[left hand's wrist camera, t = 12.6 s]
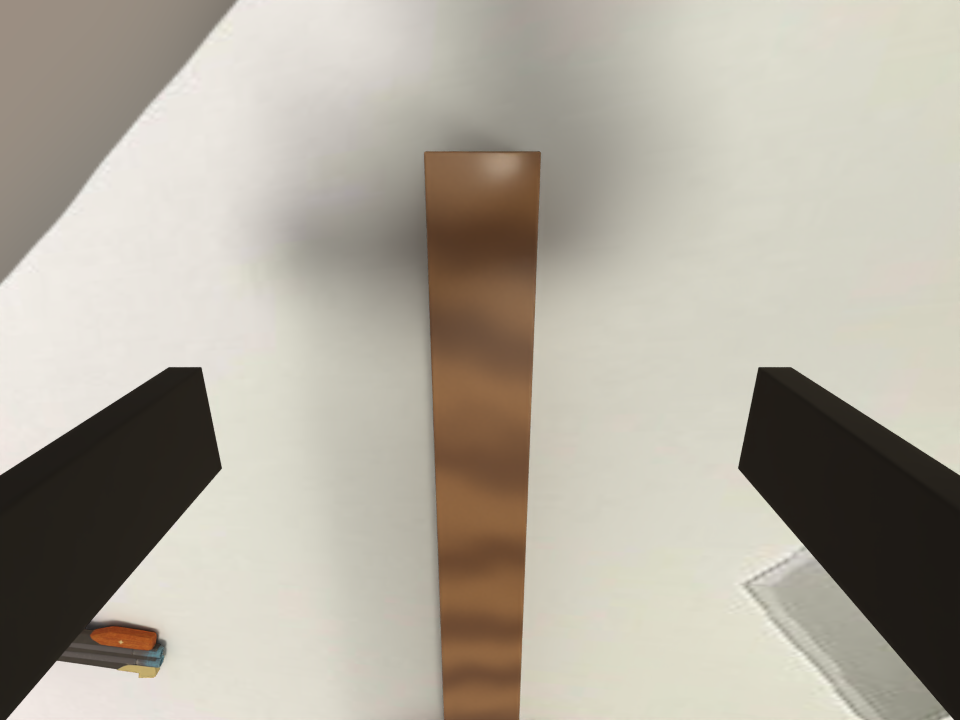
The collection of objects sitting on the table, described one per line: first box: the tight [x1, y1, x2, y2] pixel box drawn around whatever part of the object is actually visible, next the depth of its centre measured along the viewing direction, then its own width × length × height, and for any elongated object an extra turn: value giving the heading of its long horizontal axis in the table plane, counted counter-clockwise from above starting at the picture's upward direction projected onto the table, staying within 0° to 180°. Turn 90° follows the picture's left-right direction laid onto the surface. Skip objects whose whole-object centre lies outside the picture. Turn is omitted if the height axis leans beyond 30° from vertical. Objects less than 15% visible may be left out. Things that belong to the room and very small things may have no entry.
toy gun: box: [57, 626, 164, 678], centre depth 44 cm, size 3×19×10 cm
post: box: [424, 151, 541, 720], centre depth 38 cm, size 58×6×8 cm, turn 0°
